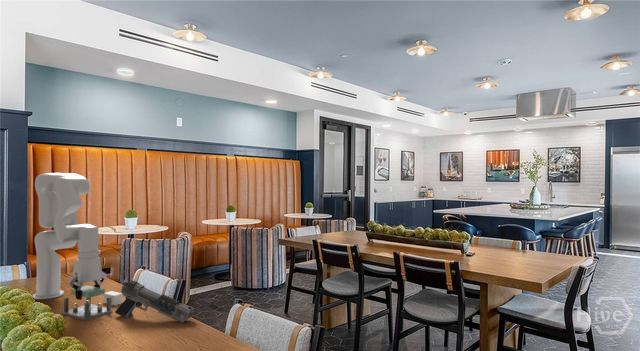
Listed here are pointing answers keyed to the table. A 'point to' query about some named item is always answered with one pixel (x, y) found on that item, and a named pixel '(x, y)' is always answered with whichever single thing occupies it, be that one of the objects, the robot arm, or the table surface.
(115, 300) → the riser
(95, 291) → the board
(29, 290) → the table surface
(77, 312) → the chassis
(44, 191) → the robot arm
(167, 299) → the firearm
